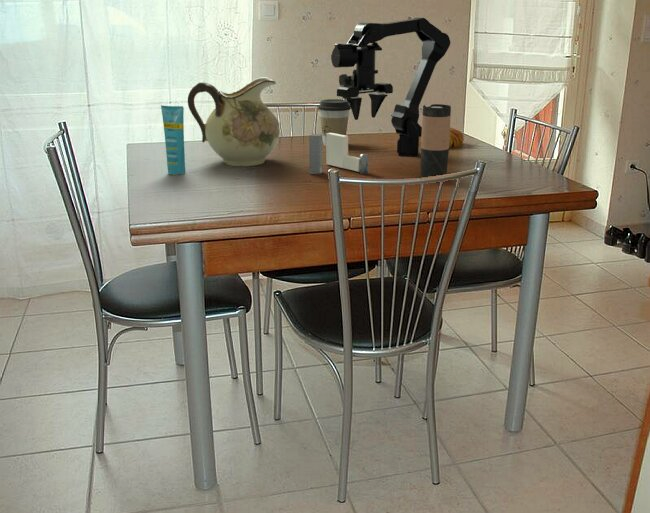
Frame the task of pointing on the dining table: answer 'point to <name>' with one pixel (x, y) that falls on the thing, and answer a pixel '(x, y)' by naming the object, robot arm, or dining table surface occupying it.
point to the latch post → (315, 153)
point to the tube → (174, 138)
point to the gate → (340, 152)
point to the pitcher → (238, 123)
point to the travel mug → (435, 139)
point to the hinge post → (364, 163)
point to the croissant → (455, 138)
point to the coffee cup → (333, 116)
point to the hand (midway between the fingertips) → (364, 118)
